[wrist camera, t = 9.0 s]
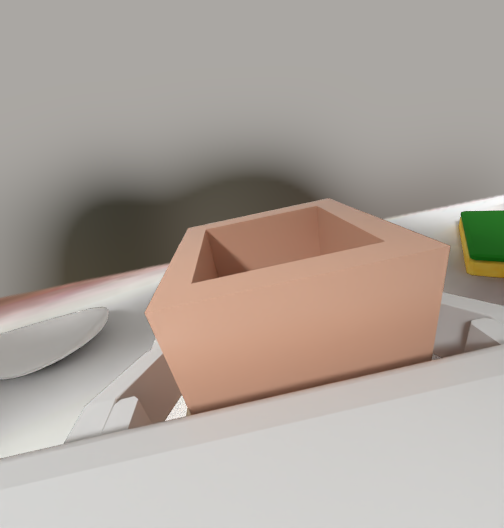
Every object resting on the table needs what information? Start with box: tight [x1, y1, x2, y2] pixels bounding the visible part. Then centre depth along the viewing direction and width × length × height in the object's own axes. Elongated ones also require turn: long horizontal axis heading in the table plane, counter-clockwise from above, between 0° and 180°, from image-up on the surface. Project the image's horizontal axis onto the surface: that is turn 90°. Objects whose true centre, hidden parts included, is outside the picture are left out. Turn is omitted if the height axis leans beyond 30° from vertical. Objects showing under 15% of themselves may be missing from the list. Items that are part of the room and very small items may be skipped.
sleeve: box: [145, 198, 450, 415], centre depth 9 cm, size 6×6×10 cm
